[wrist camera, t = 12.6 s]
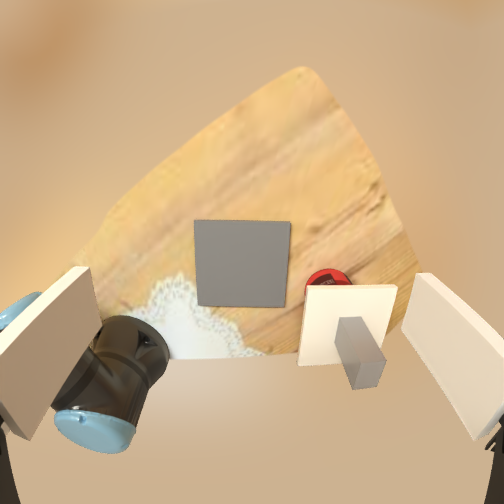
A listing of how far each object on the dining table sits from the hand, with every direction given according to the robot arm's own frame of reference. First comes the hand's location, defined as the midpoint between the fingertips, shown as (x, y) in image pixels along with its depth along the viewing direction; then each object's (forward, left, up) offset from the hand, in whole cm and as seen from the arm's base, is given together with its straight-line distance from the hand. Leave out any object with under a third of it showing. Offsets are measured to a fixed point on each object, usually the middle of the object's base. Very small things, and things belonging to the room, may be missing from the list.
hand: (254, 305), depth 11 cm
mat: (-1, -12, -33) cm, 35 cm away
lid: (+13, -16, -22) cm, 30 cm away
